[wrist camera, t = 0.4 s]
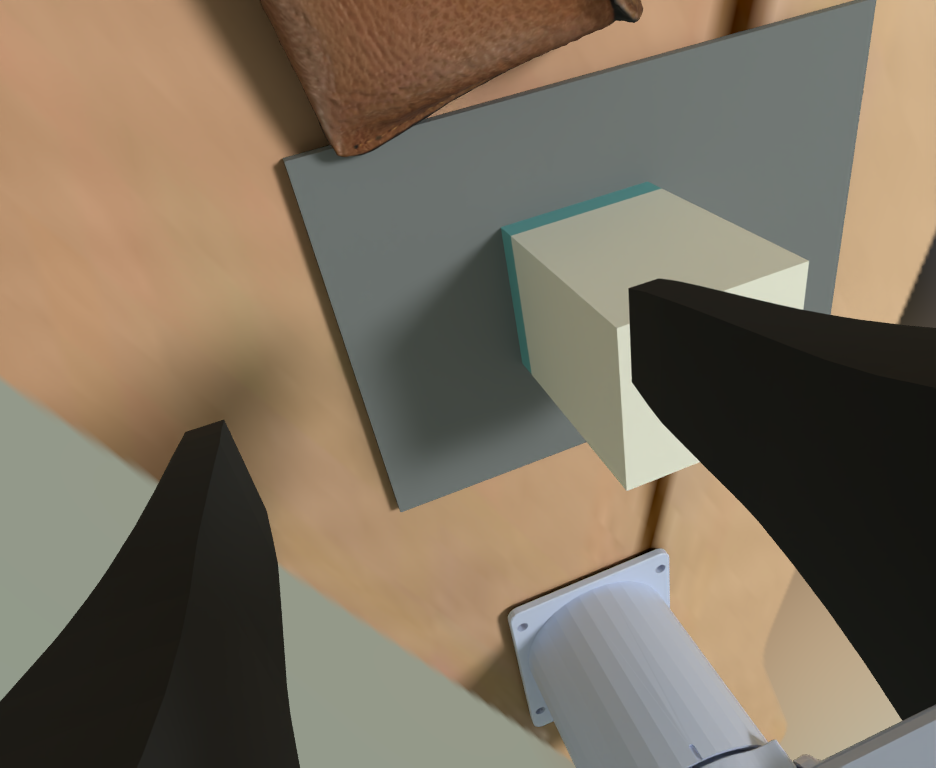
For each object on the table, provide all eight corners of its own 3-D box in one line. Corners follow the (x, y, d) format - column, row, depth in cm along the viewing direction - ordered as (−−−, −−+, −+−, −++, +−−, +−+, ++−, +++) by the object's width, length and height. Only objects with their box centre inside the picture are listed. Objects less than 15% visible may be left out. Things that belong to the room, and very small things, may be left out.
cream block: (651, 318, 24) (789, 426, 19) (522, 363, 24) (626, 491, 18) (647, 181, 22) (809, 260, 16) (500, 226, 21) (616, 327, 15)
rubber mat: (818, 347, 29) (825, 351, 28) (398, 505, 25) (401, 512, 25) (866, -3, 21) (876, -3, 21) (282, 158, 18) (284, 161, 18)
